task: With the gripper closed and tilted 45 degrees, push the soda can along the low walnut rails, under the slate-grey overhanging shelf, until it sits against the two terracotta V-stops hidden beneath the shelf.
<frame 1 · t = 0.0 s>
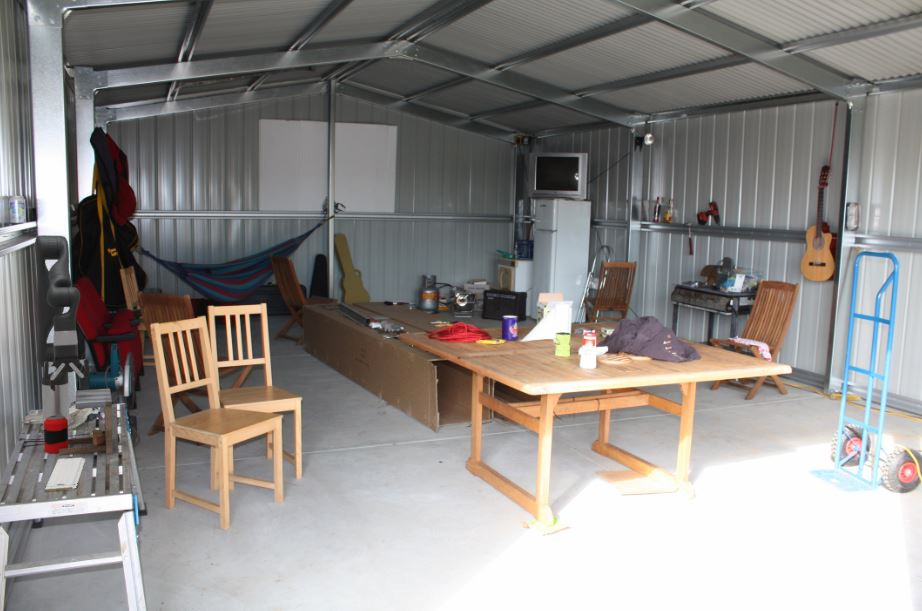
hand: (67, 389, 275), 22 cm above the table, tool pointing down, fingers open, 8 cm apart
soda can: (56, 450, 279), on the table
baseboard: (68, 477, 255), on the table
overhang shelf: (88, 447, 283), on the table
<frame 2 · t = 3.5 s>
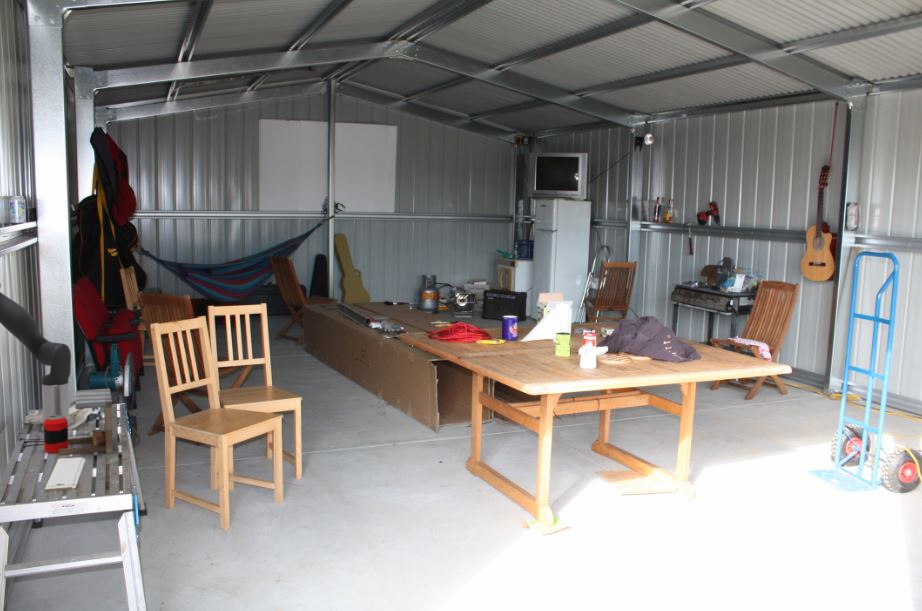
nothing on the table moved.
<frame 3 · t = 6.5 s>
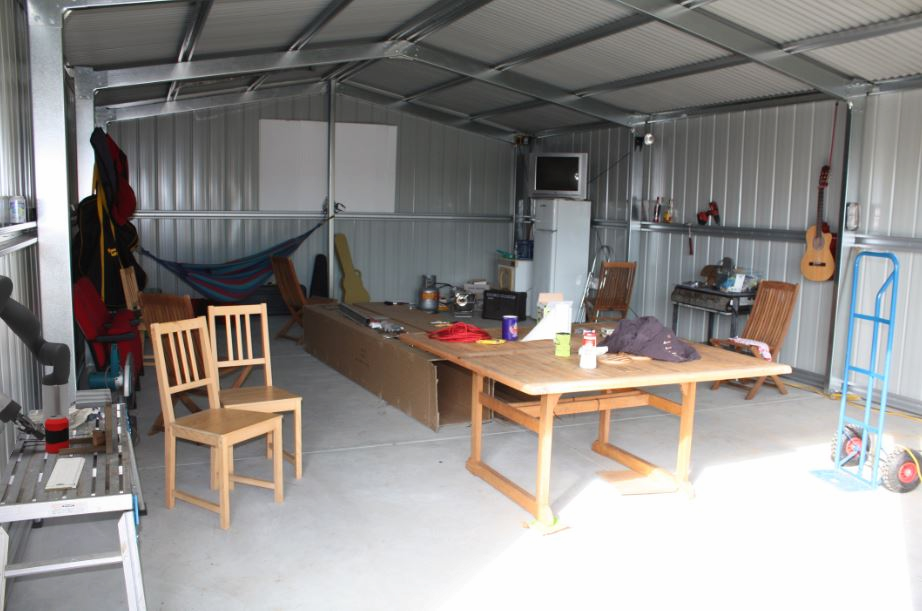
hand: (43, 438, 276), 5 cm above the table, tool tilted 45°, fingers closed
soda can: (57, 450, 279), on the table, touching gripper
everything else where it was.
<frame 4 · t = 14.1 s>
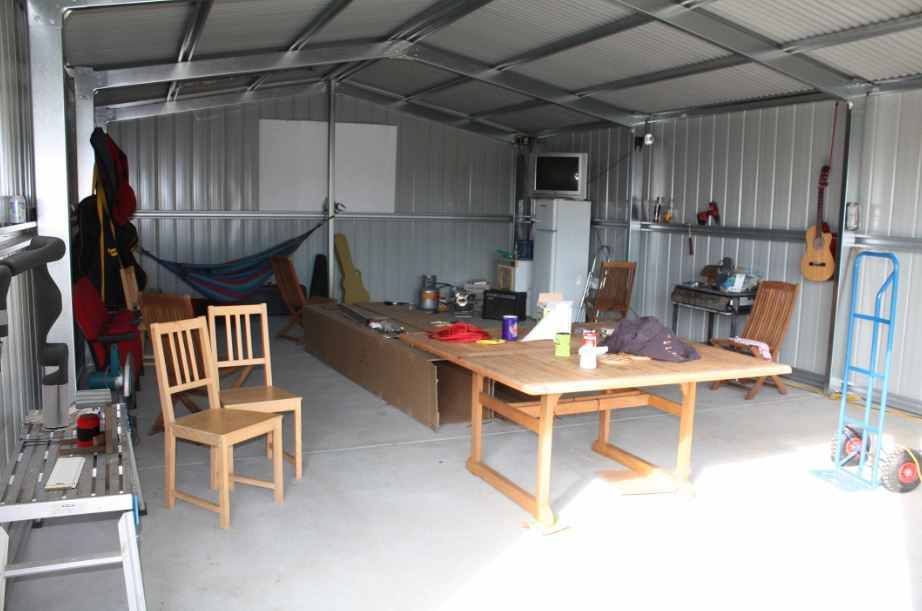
soda can: (88, 448, 283), resting in overhang shelf
everything else where it was.
at the end: soda can 0.3 cm from the target spot, resting in overhang shelf; soda can tilted 0° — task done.
